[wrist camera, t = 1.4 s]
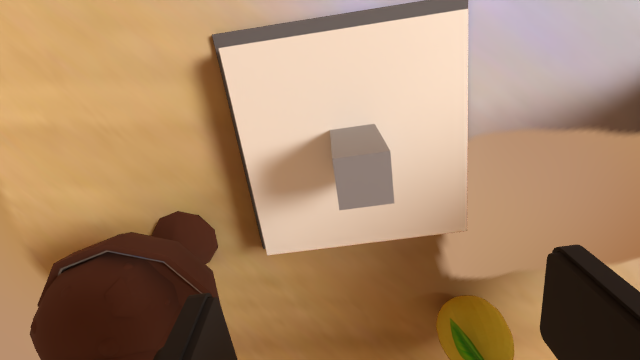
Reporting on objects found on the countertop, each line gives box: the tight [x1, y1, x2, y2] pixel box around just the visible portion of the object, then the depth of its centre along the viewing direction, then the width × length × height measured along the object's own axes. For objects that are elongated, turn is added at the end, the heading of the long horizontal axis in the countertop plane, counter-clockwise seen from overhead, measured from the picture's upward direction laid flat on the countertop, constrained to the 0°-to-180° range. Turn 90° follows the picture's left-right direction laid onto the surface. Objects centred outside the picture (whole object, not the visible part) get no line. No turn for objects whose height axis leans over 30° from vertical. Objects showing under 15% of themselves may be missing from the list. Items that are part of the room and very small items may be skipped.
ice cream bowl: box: [30, 211, 221, 360], centre depth 24 cm, size 11×11×15 cm
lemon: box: [436, 295, 514, 360], centre depth 29 cm, size 7×6×10 cm
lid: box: [219, 9, 468, 255], centre depth 23 cm, size 15×15×8 cm
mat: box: [212, 0, 468, 249], centre depth 27 cm, size 17×17×1 cm
